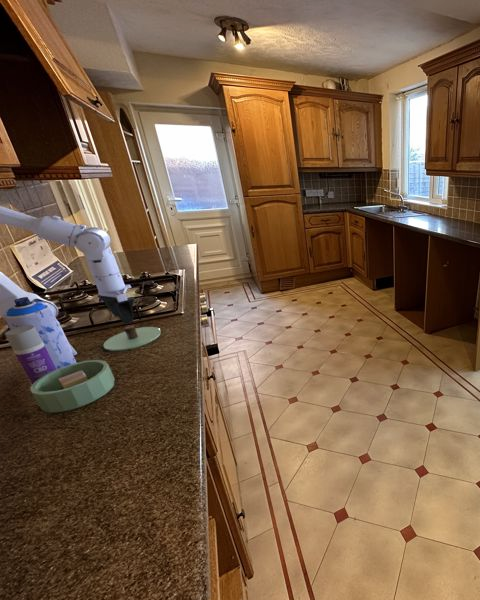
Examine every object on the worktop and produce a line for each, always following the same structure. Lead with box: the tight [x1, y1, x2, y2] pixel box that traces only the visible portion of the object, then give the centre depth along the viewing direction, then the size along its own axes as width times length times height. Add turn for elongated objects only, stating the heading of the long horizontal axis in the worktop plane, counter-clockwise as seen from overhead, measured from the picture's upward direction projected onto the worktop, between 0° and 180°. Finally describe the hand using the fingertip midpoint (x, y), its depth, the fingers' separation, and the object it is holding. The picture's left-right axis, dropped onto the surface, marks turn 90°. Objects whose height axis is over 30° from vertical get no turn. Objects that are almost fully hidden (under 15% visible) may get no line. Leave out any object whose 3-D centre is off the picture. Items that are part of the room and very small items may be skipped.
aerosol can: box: [4, 297, 77, 369], centre depth 79 cm, size 8×8×20 cm
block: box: [58, 370, 89, 389], centre depth 73 cm, size 4×4×4 cm
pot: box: [29, 359, 116, 414], centre depth 73 cm, size 13×13×5 cm
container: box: [4, 326, 57, 386], centre depth 74 cm, size 5×5×15 cm
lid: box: [103, 324, 162, 352], centre depth 95 cm, size 14×14×5 cm
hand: (124, 318), depth 93 cm, fingers open, 7 cm apart
